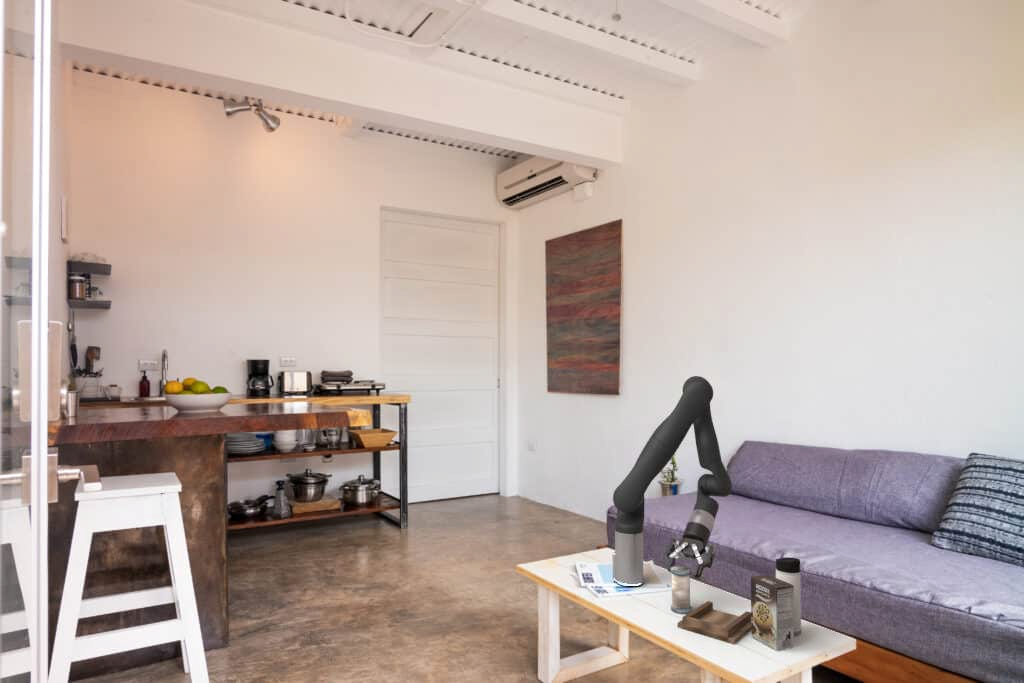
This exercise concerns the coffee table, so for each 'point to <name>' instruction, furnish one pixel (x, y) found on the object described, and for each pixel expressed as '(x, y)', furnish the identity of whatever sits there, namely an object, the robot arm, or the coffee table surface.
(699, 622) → the open-sided brown tray
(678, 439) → the robot arm
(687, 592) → the beige and blue cylinder
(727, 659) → the coffee table surface
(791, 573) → the travel mug
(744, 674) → the coffee table surface
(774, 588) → the coffee box
